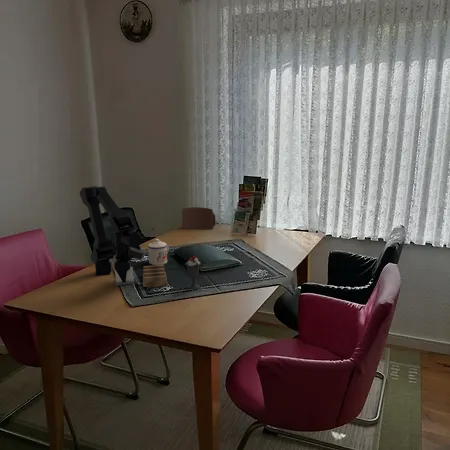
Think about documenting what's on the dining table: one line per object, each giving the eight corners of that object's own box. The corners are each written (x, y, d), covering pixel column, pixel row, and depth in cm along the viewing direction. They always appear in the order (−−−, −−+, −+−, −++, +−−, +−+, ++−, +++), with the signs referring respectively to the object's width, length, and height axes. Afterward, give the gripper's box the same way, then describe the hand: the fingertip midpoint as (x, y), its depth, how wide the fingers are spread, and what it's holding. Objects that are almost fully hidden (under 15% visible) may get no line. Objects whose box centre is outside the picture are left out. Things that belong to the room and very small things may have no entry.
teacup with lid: (159, 266, 200) (157, 243, 197) (144, 263, 205) (143, 240, 202) (175, 259, 210) (174, 237, 207) (161, 257, 215) (160, 234, 212)
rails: (114, 285, 178) (114, 282, 177) (115, 281, 182) (115, 279, 182) (134, 284, 179) (134, 281, 179) (134, 280, 184) (134, 277, 183)
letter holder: (213, 229, 268) (212, 207, 265) (182, 229, 271) (181, 207, 268) (215, 226, 278) (215, 204, 274) (186, 225, 281) (185, 204, 277)
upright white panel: (116, 284, 179) (115, 270, 177) (116, 282, 181) (115, 268, 180) (133, 283, 180) (132, 268, 179) (133, 281, 182) (132, 266, 181)
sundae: (189, 291, 171) (188, 255, 167) (183, 285, 177) (181, 251, 173) (204, 288, 174) (203, 252, 170) (197, 282, 180) (196, 248, 176)
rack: (143, 287, 175) (142, 278, 174) (142, 275, 189) (142, 266, 188) (167, 285, 177) (167, 276, 176) (165, 273, 191) (165, 264, 190)
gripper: (141, 248, 169) (144, 285, 173) (141, 236, 187) (143, 269, 191) (113, 250, 167) (115, 287, 171) (115, 237, 185) (118, 271, 189)
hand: (124, 278), depth 180 cm, fingers open, 9 cm apart
